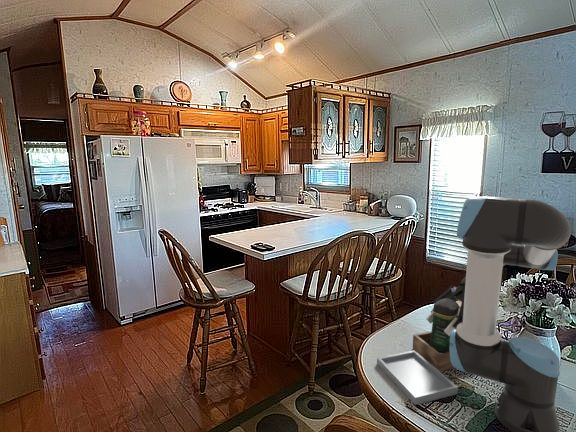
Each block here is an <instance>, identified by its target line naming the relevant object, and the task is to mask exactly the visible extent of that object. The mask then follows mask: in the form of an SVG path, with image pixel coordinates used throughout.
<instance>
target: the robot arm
mask: <svg viewBox="0 0 576 432" xmlns="http://www.w3.org/2000/svg"><path fill="white" fill-rule="evenodd" d="M571 234H572V228H571V223H570V221H569V220H568V218H567V217H566V216H565V214H564V213H563V212H562V211H561V210H559V209H557V208H556V207H555V206H553V205H550V204H549V203H547V202H544V201H541V200H536V199H531V198H526V199H525V198H513V197H512V198H509V197H497V196H496V197H495V196H487V195H485V196H469V197H467V198H466V199H465V200H464V202H463V205H462V209H461V212H460V216H459V219H458V224H457V228H456V237H457V238H458V239H460V240H461V241H462V242H461V243H462V244H461V245H462V247H463V248H464V249H466V250H467V256H466V257H467V259H466V273H465V276H464V277H463V278H462V280H461V281H460V284H459V285H458V286H457V287H456V286H454V285H453V284H450V285H449V287H448V288H447V289H446V290H444V292H443V293H442V294H440V295H439V296H438V297H437V298H435V299H434V300H433V303H434V304H435V303H436V302H437V301H439V300H441V299H444V298H447V299H451V300H454V301H461V302H462V304H461V308H460V311H459V315H458V317H457V318H458V319H457V318H456V317H455V318H454V319H453V321H452V322H451V323H450V324H449V325H448V326H447V328H446V329H445V330H444V332H445V333H446V334H447V335H448V336H450V360H451V363H452V365H453V367H455V368H454V369H456V370H458V371H461V372H463V373H466V374H468V375H469V374H471V375H473V376H477V377H479V378H484V379H487V380H491V381H494V382H497V383H500V384H501V383H502V384H504V389H503V390H502V392H501V394H500V395H499V397H498V398H497V400H496V402H495V407H494V413H495V417H496V418H497V420H498V421H499V422H500V423H501V425H502V426H504V427H505V428H506V429H507V428H508V431H511V432H560V423H559V420H558V417H557V412H556V407H555V402H556V395H557V387H558V380H559V377H560V375H561V374H560V373H561V371H560V366H561V364H560V358H559V356H558V354H557V353H556V352H555V351H554V350H553V349H552V348H550V347H549V346H547V345H545V344H543V343H541V342H539V341H537V340H535V339H531V338H528V337H524V336H514V337H512V338H510V340H509V341H506V340H503V339H502V334H501V333H500V332H499V330H498V329H497V321H498V312H499V304H500V294H501V285H502V275H503V267H504V266H506V265H507V266H508V265H509V266H516V267H517V266H518V267H523V268H524V267H525V268H529V269H530V268H531V269H536V270H537V269H538V270H541V271H555V270H556V269H557V264H558V260H559V259H558V258H559V254H558V253H559V252H558V250H559V249H560V248H562V247H564V245H566V243H568V241H569V239H570V237H571ZM425 320H426V321H427V322H428V323H429V324H432V323H433V308H432V309H431V311H430V313H429V315H428V316H427V317H426V318H425Z"/></svg>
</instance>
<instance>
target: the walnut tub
mask: <svg viewBox="0 0 576 432" xmlns="http://www.w3.org/2000/svg"><path fill="white" fill-rule="evenodd" d="M431 332H432V330H431V331H425V332H420V333H414V334H413V336H412V348H413V349H414V350H415V351H416V352H417V353H419V354H420V355H421V356H422V357H423V358H424V359H426V360H427V361H428V362H429V363H430V364H432V365H433V366H434V367H435V368H436V369H438V370H439V371H440V372H442V371H446V370H447V371H448V370H451V369H456V368H455V367H453V365H452V363H451V360H450V352H447V353H440V352H438V351H436V350H435V349H434V348H433V347H431V346H430V340H431ZM413 349H412V350H413Z"/></svg>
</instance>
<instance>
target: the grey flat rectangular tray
mask: <svg viewBox="0 0 576 432" xmlns="http://www.w3.org/2000/svg"><path fill="white" fill-rule="evenodd" d="M376 365H377V366H378V367H379V368H380V369H381V370H382V371H383V372H384V374H385V375H387V376H388V378H389V379H390V380H391V381H392V382H393V383H394V384H395V385H396V386H397V388H398V389H399V390H400V391H401V392H402V393H403V394H404V395H405V396H406V397H407V398H408V400H410V401H411V403H412V404H413V405H414V406H416V405H421V404H423V403H428V402H432V401H436V400H437V401H438V400H440V399H443V398H447V397H452V396H455V395H458V394H459V386H458V385H457V384H455V383H454V382H453V381H452V380H450V378H448V377H447V376H446V375H445V374H443V373H442V371H439V370H438V369H436V368H435V367H434V366H433V365H432V364H430V363H429V362H428V361H427V360H426V359H424V358H423V357H422V356H421V355H420V354H419V353H417V352H416V351H415V350H413V349H412V350H409V351H404V352H399V353H394V354H390V355H385V356H384V355H383V356H379V357H376Z"/></svg>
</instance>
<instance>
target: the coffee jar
mask: <svg viewBox="0 0 576 432" xmlns="http://www.w3.org/2000/svg"><path fill="white" fill-rule="evenodd" d="M432 309H433V322H432V323H431V324H432V325H431V331H432V332H431V340H430V346H431V347H433V348H434V349H435V350H436V351H438V352H439V353H440V354H442V353H447V352H450V336H448V335H447V334H446V333H445V332H444V330H445V329H446V328H447V326H448V325H449V324H450V323H451V322H452V321H453V319H454V318H455V317H456V318H457V317H458V311H459V305H458V303H457V302H456V301H454V300H451V299H447V298H444V299H441V300H439V301H437V302H436V303H434V304H433V308H432Z"/></svg>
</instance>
